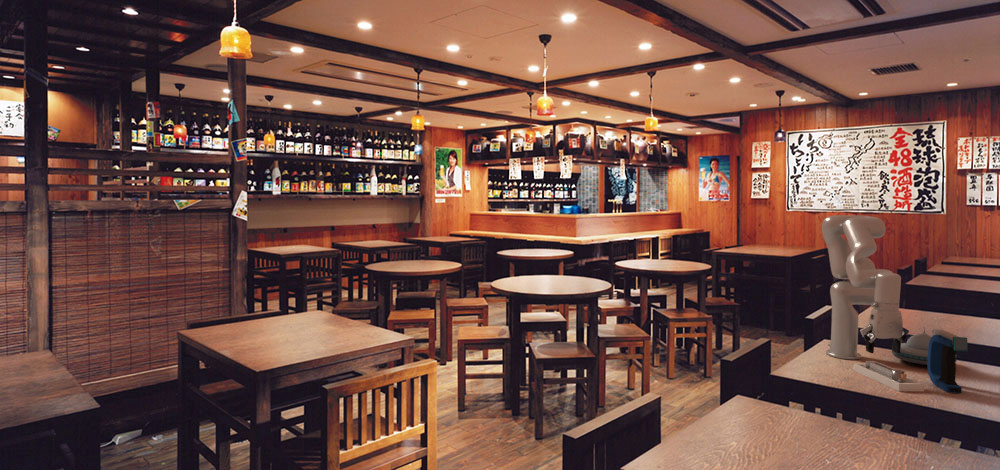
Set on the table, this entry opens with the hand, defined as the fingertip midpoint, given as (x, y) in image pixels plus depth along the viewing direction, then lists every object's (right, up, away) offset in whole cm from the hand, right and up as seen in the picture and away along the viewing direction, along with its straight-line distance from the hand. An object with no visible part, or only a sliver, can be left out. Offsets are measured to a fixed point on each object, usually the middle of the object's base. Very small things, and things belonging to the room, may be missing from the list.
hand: (882, 352), depth 197 cm
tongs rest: (0, -10, -2) cm, 10 cm away
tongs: (0, -9, -2) cm, 9 cm away
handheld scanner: (+15, -11, -10) cm, 21 cm away
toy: (+30, -9, +19) cm, 36 cm away
